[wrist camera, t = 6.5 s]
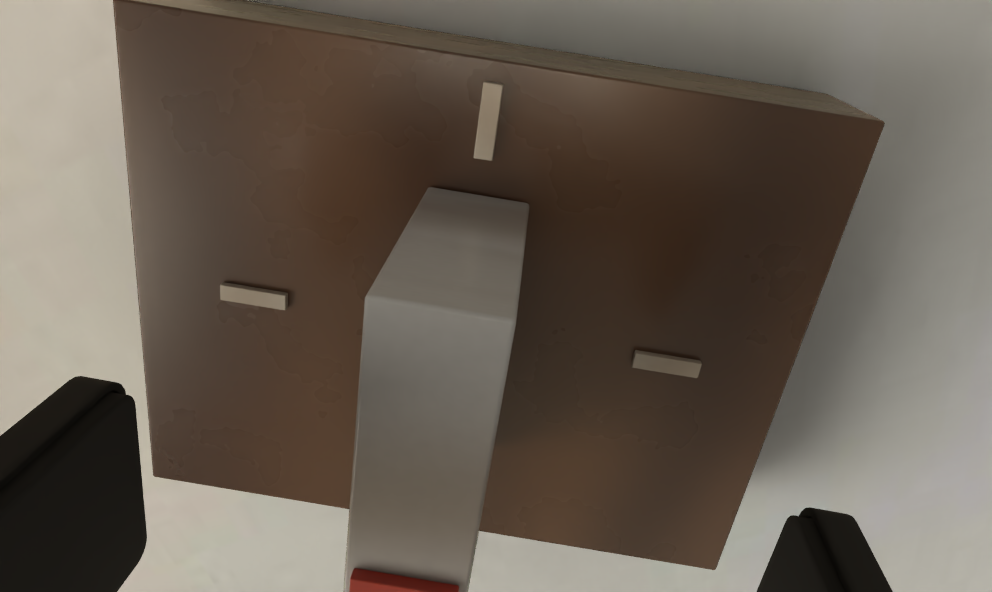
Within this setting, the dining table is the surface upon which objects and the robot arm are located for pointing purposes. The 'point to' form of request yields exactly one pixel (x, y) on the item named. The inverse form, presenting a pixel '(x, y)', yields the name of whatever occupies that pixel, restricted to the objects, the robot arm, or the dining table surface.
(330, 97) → the brown dial block
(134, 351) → the dining table surface
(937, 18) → the dining table surface
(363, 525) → the red-tipped white block
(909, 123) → the dining table surface
